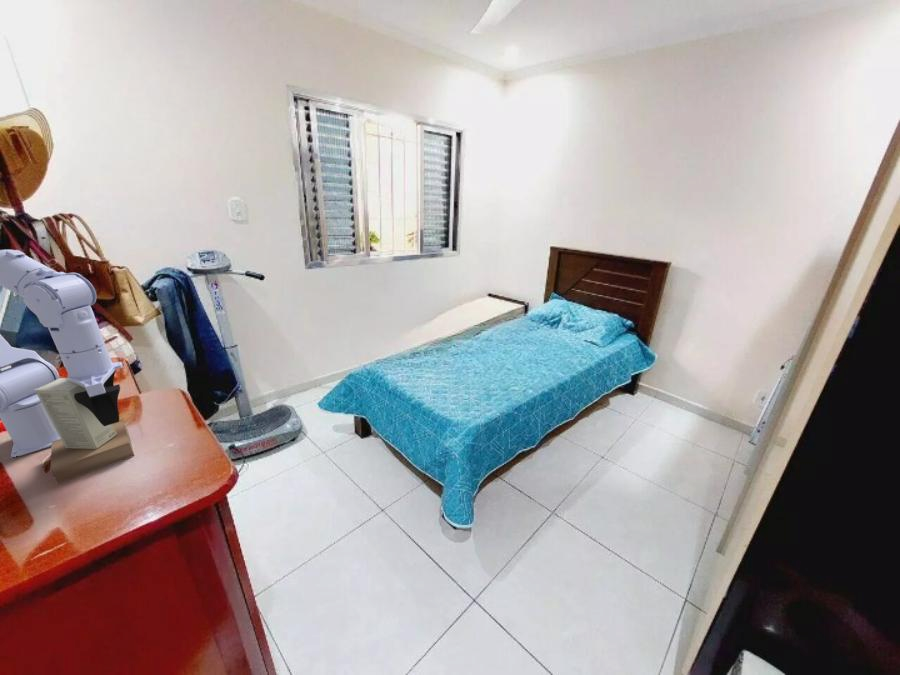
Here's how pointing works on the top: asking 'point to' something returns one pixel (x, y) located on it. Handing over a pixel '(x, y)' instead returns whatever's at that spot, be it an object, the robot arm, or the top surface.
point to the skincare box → (73, 416)
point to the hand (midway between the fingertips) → (109, 414)
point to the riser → (89, 455)
